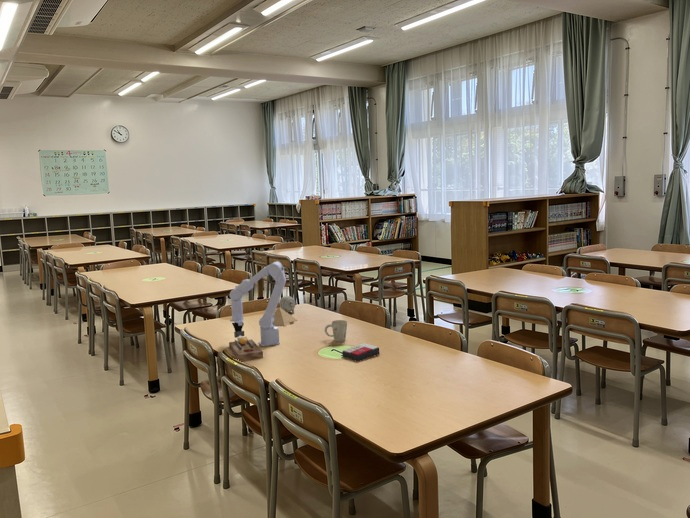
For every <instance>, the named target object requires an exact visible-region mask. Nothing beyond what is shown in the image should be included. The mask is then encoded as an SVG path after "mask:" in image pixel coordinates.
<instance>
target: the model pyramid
mask: <svg viewBox="0 0 690 518" xmlns="http://www.w3.org/2000/svg"><path fill="white" fill-rule="evenodd" d="M298 321H299V320H298V319H297V318H295V317H294V316H292V314H290V313H289V312H288V313H287V312H285V311H284V310H283V309H281V308H280V306H279V307H278V308H276V310H275V314H274V322H273V325H274V327H275V326H277V327H282V326H283V328H284V327H285V328H286V327H287V325H288V326H290V325H292V324H294V323H296V322H298Z"/></svg>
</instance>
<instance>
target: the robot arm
mask: <svg viewBox="0 0 690 518" xmlns="http://www.w3.org/2000/svg"><path fill="white" fill-rule="evenodd" d="M267 276H271V277H272V278H273V280H274V281H275V283H274V287H273V289H272V292H271V295H270V297H269V300H268V303H267V306H266V308H265V310H264V313H263V315H262V317H261V318H259V321H258V324H259V326H260V327H259V328H260V329H259V331H260V332H259V333H260V341H258V344H259V345H260V346H262V347H268V346H275V345H280V330H279V326H274V325H273V322H274V314H275V311H276V310H277V307H278V304H279V302H280V299H281V296H282V293H283V290H284V288H285V286H286V282H287V278H286V274H285V267H284V266H283V264H282V262H280V261H273V262H272V263H270V264H268V265H266V266H265V267H263V268H262V269H261V270H259V271H258V272H257V273H255V274H254V275H253V276H252V277H251V278H249V279H248V278H246V279H243V280H241V283H239V284H238V285H236V286H235V288H233V289H231V291H230V292H229V295H228V296H229V298H230V301H231V304H230V307H231V319H229V322H232V323H231V324H232V327H233V328H234V332H236V331H243V330H242V329H243V327H244V314H243V313H244V312H243V311H244V310H243V298H242V297H243V296H245V295H246V294H247V293H248V292H250V291H251V290H252V289H253V288H254V284H256V282H258V281H259V280H261V279H262V278H263V277H267Z"/></svg>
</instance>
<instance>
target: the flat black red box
mask: <svg viewBox="0 0 690 518" xmlns="http://www.w3.org/2000/svg"><path fill="white" fill-rule="evenodd" d="M341 354H342V355H341V357H342V358H345V359H348V358H349V359H348V360H352V361H355V360H356V361H355V362H360V360H361V361H363V359H364V360H366V358H367V359H369V358H371V356H372V357H375V356H374V355H376V356H378V355H377V354H379V355H380V347H378V346H376V345H372V344H367V343H364V342H363V343H360V344H356V345H354V346H351V347H348V348H346V349H343V350H342V351H341Z"/></svg>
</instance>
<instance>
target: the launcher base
mask: <svg viewBox="0 0 690 518" xmlns="http://www.w3.org/2000/svg"><path fill="white" fill-rule="evenodd" d="M246 339H247V343H246V344H244V345H242V344H241V343H238V341H237V340H236V339H234V341H230V342H229V343H228V344H229V345H228V346H229V350H230V351H231V352H232V354H233V356H234V357H235V358H236V359H239V360H242V361H249V360H250V361H251V360H255V359H262V358H264V353H263V352H264V351H263V350H262V349H261V347H259V346H258V344H257V343H256V342H255V341H254V340H253V339H248V338H247V337H246ZM242 361H241V362H242Z"/></svg>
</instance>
